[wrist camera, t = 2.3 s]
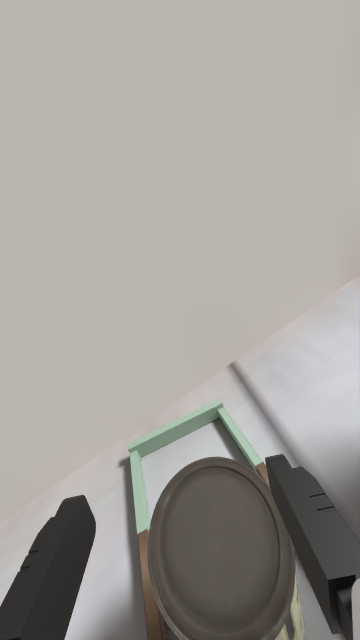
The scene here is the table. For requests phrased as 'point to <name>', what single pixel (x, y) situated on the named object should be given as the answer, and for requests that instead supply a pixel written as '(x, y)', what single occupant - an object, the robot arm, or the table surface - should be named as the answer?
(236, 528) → the coffee can
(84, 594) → the table surface
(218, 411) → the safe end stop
